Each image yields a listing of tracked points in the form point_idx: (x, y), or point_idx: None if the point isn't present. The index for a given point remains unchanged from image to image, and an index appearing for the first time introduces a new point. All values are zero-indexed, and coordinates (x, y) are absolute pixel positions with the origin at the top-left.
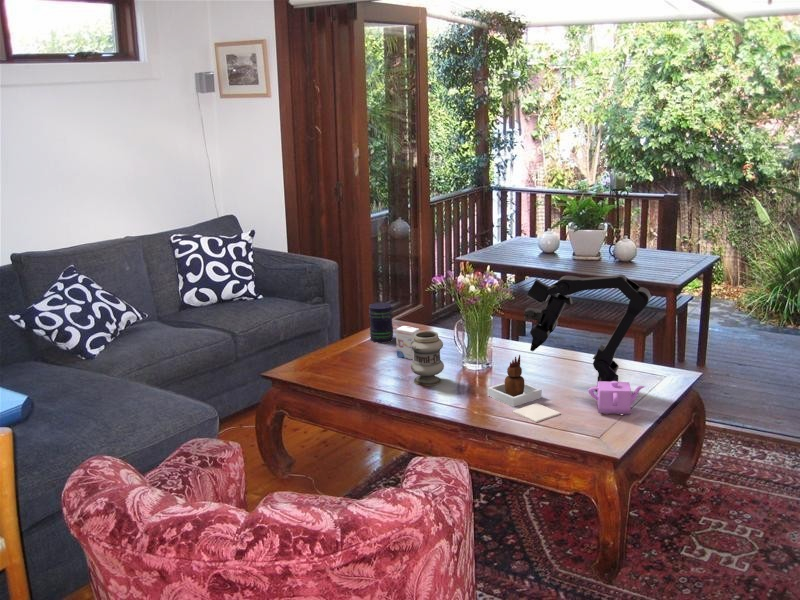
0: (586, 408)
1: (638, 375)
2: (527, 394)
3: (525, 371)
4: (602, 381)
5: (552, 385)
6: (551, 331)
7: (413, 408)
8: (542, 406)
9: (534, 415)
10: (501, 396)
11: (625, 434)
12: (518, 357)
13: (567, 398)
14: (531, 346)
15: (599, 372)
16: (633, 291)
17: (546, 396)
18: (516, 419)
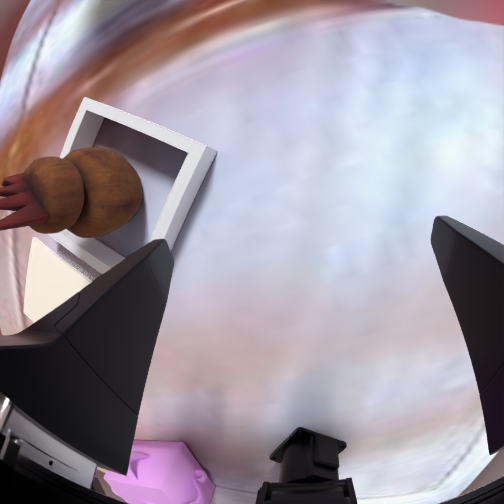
0: (151, 416)
1: (442, 460)
2: (83, 259)
3: (428, 133)
4: (166, 496)
5: (305, 293)
6: (490, 431)
7: (19, 30)
8: None
9: (38, 302)
10: None
11: None
12: (3, 218)
13: (193, 369)
14: (122, 266)
15: (258, 494)
16: None
17: (177, 301)
18: (17, 262)
